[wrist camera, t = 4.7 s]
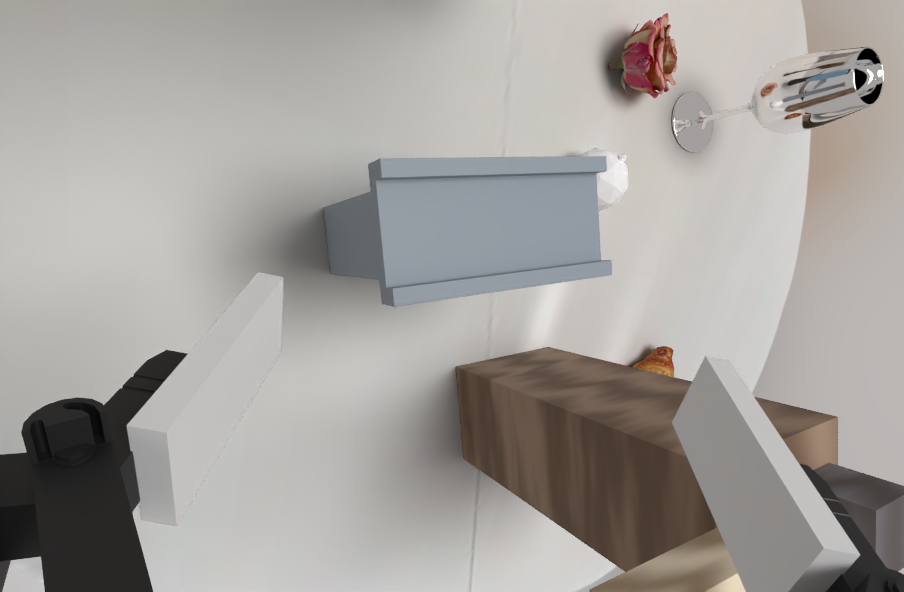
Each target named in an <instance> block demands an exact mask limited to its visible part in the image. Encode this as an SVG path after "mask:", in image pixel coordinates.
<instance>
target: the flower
mask: <svg viewBox="0 0 904 592" xmlns="http://www.w3.org/2000/svg"><path fill="white" fill-rule="evenodd" d="M668 21H669V19H668V13H667V14H664V15H663V17H662V18H661V17H660V18H658V19H657V20H656V21H655V23H654V24H653V22H652V21H651V20H650V21H648V22H647V23H645V25H644V26H643V27H642V28H641V29H640V31H637V32H635V30H636V28H637V26H638V24H637V26H636V28H635V29H634V31H633V32H632V33H631V35H630V36H629V37H628V39H627V41H626V43H625V45H624V50H623V53H622V56H621V57H622V60H621V61H617V62H612V63H610V64H609V70H611V69H617V68H623V69H624V72H623V74H622V77H621V85H622V87H623V88H624V90H625V83H626V84H627V85H628V86H630V87H631V88H632V89H636V90H640V91H643V92H646V93H648V94H650V95H652V96H653V98H655V97H657V96H658V94H662V91H663V90H664V91H665V92H666V91H668V90H669V88H668V85H667V81H669V82H670V83H671V85H675V84H676V83H675V81H674V79H673V77H672V76H671V73H672V72H675V71H676V69H677V64H676V61H677V56H676V54H677V51H676V48H675V43H674V39H670V36H668V35H669V31H670V27H671V26H670V25H667V23H668ZM634 32H635V34H634ZM633 34H634V35H633ZM624 81H625V83H624ZM621 85H620V86H621ZM655 90H658V91H659V93H658V92H656V91H655ZM625 91H626V90H625ZM633 91H634V90H633ZM626 93H627V91H626ZM627 94H628V93H627ZM628 96H629V94H628ZM629 100H630V98H629Z"/></svg>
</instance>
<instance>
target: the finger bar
mask: <svg viewBox="0 0 904 592" xmlns="http://www.w3.org/2000/svg"><path fill="white" fill-rule="evenodd" d="M814 471H815V472H816V473H817V474H818V475H819V476H820V477H821V478H822V479H823V480H825V481H826V482H827V484H828V485H829V487H830V488H831V490H832V491H833V492H834V494H835V495H836V497H837V498H838V499H839V500H838V502H839V503H841V504H842V505H843V507H844V508H845V509H846V511H847V512H848V514H849V515H848V516H849V517H850V518H852V519H853V521H854V522H855V524H856V525H857V526H858V528H859V529H860V531H861V532H862V533H863V535H864V536H865V538H866V539H867V541H868V542H869V543H870V545H871V546H872V548H873V549H874V550H875V552H876V553H877V555H878V556H879V558H880V559H881V560H882V562H883V563H884V565H885V566H886V567H887V568H888V569H892V570H896V571H899V570H901V569H902V568H903V567H904V486H902V485H898V484H895V483H892V482H889V481H886V480H883V479H879V478H876V477H873V476H870V475H866V474H864V473H860V472H857V471H854V470H851V469H847V468H844V467H841V466H838V465H835V464H832V463H827V464H825V465H823V466H821V467H819V468H817V469H814ZM590 592H746V591H745V589H744V586H743V584H742V582H741V579H740V577H739V575H738V573H737V570H736V568H735V566H734V563H733V561H732V559H731V557H730V554H729V552H728V550H727V547H726V545H725V543H724V541H723V538H722V536H721V534H720V531H719V529H718V527H717V528H715V529H713V530H711V531H709V532H707V533H705V534H703V535H701V536H699V537H697V538H695V539H693V540H691V541H688V542H686V543H684V544H682V545H680V546H678V547H676V548H674V549H672V550H670V551H668V552H666V553H664V554H662V555H660V556H658V557H656V558H654V559H652V560H649V561H647V562H645V563H643V564H641V565H639V566H637V567H635V568H633V569H631V570H629V571H627V572H625V573H623V574H621V575H619V576H617V577H615V578H613V579H610V580H608V581H606V582H604V583H602V584H600V585H598V586H596V587H594V588H592V589H590Z"/></svg>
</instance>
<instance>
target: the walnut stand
mask: <svg viewBox="0 0 904 592" xmlns="http://www.w3.org/2000/svg"><path fill="white" fill-rule="evenodd" d="M456 375H457V386H458V398H459V410H460V422H461V434H462V446H463V457H464V459H465V460H466V461H468V462H469V463H471V464H472V465H474V466H475V467H476V468H478V469H479V470H481V471H482V472H484V473H485V474H486V475H488V476H489V477H491V478H492V479H494V480H495V481H496V482H498V483H499V484H501V485H502V486H504V487H505V488H506V489H508V490H509V491H511V492H512V493H514V494H515V495H516V496H518V497H519V498H521V499H522V500H524V501H525V502H526V503H528V504H529V505H531V506H532V507H534V508H535V509H536V510H538V511H539V512H541V513H542V514H544V515H545V516H547V517H548V518H549V519H551V520H552V521H554V522H555V523H557V524H558V525H559V526H561V527H562V528H564V529H565V530H567V531H568V532H569V533H571V534H572V535H574V536H575V537H577V538H578V539H579V540H581V541H582V542H584V543H585V544H587V545H588V546H589V547H591V548H592V549H594V550H595V551H597V552H598V553H599V554H601V555H602V556H604V557H605V558H607V559H608V560H609V561H611V562H612V563H614V564H615V565H617V566H618V567H619V568H621V569H622V570H624V571H625V572H627V571H629V570H631V569H633V568H635V567H637V566H639V565H641V564H643V563H645V562H647V561H649V560H652V559H654V558H656V557H658V556H660V555H662V554H664V553H666V552H668V551H670V550H672V549H674V548H676V547H678V546H680V545H682V544H684V543H686V542H688V541H691V540H693V539H695V538H697V537H699V536H701V535H703V534H705V533H707V532H709V531H711V530H713V529H715V528H717V525H716V522H715V520H714V518H713V515H712V513H711V511H710V509H709V506H708V504H707V502H706V499H705V497H704V495H703V493H702V490H701V488H700V486H699V483H698V481H697V479H696V477H695V474H694V472H693V470H692V467H691V465H690V463H689V461H688V458H687V456H686V454H685V451H684V449H683V447H682V445H681V442H680V440H679V438H678V435H677V433H676V431H675V429H674V426H673V424H672V421H673V419H674V417H675V415H676V413H677V411H678V409H679V407H680V405H681V403H682V401H683V399H684V397H685V395H686V393H687V392H688V390H689V388H690V386H691V384H692V382H691V381H687V380H683V379H678V378H674V377H670V376H666V375H662V374H658V373H654V372H649V371H645V370H641V369H637V368H633V367H629V366H625V365H620V364H616V363H612V362H608V361H604V360H600V359H596V358H591V357H587V356H583V355H579V354H575V353H571V352H567V351H562V350H558V349H554V348H550V347H547V348H542V349H537V350H533V351H528V352H523V353H518V354H514V355H509V356H504V357H499V358H495V359H490V360H485V361H480V362H476V363H471V364H466V365H462V366H457V367H456ZM754 398H755V399H756V401H757V402H758V404H759V405H760V407H761V408H762V410H763V411H764V413H765V414H766V415H767V417H768V418H769V420H770V421H771V423H772V424H773V426H774V427H775V429H776V430H777V432H778V433H779V435H780V436H781V438H782V439H783V441H784V442H785V444H786V445H787V447H788V448H789V450H790V451H791V453H792V454H793V456H794V457H795V458H796V460H797V461H798V463H799V464H804V465H808V466H809V467H810V468H811V469H812V470H814V469H817V468H819V467H821V466H823V465H825V464H827V463H832V464H835V465H838V417H836V416H832V415H827V414H823V413H819V412H815V411H811V410H807V409H803V408H799V407H794V406H790V405H786V404H782V403H778V402H774V401H769V400H765V399H761V398H757V397H754Z"/></svg>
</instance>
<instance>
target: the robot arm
mask: <svg viewBox="0 0 904 592" xmlns="http://www.w3.org/2000/svg"><path fill="white" fill-rule="evenodd" d="M282 311H283V277H281V276H276V275H271V274H265V273H260V272H258V273H257V274H256V275H255V276H254V278H253V279H252V280H251V281H250V282H249V283H248V285H247V286H246V287H245V288H244V289H243V290H242V292H241V293H240V294H239V295H238V296H237V297H236V299H235V300H234V301H233V302H232V303H231V304H230V306H229V307H228V308H227V309H226V310H225V311H224V313H223V314H222V315H221V316H220V317H219V318H218V320H217V321H216V322H215V323H214V324H213V325H212V327H211V328H210V329H209V330H208V331H207V332H206V333H205V335H204V336H203V337H202V338H201V339H200V340H199V342H198V343H197V344H196V345H195V346H194V347H193V349H192V350H191V351H190V352H189V353H188V354H186V353H180V352H175V351H169V350H166V351H164V352H162V353H160V354H158V355H156V356H155V357H153V358H151V359H149V360H147V361H146V362H145V363H144V364H143V365H142V366H141V367H140V368H139V369H138V370H137V371H136V373H135V374H134V376H133V377H131V378H130V379H129V380H128V381H127V382H126V383H125V384H124V385H123V388H122V389H119V390H118V391H117V392H116V393H115V394H114V395H113V397H112V398H111V399H110V400H109V401H108V402H107V403H106V404H105V405H103V404H102V403H100V402H97V401H95V400H93V399H86V398H72V399H64V400H60V401H57V402H54V403H51V404H48V405H46V406H44V407H42V408H41V409H39V410H37V411H36V412H34V413H32V415H31V416H30V417H29V418H28V419H27V420H26V421H25V422H24V424H23V428H22V432H21V433H22V437H23V440H24V443H25V447H26V450H27V453H18V454H5V455H0V592H2V590H3V586H4V582H5V579H6V575H7V572H8V568H9V565H10V561H11V560H16V559H24V558H32V557H40V556H41V560H42V569H43V577H44V586H45V592H153V589H152V586H151V582H150V578H149V574H148V571H147V567H146V563H145V559H144V556H143V552H142V548H141V545H140V541H139V537H138V533H137V530H136V526H135V522H134V519H133V515H132V512H133V510H134V509H135V507H136V506H137V504H138V503H139V508H140V514H141V520H144V521H150V522H156V523H162V524H168V525H173V526H177V525H178V523H179V522H180V520H181V518H182V517H183V515H184V513H185V512H186V510H187V508H188V507H189V505H190V503H191V502H192V500H193V498H194V497H195V495H196V493H197V492H198V490H199V488H200V487H201V485H202V483H203V481H204V480H205V478H206V476H207V475H208V473H209V471H210V470H211V468H212V466H213V465H214V463H215V461H216V460H217V458H218V456H219V455H220V453H221V451H222V450H223V448H224V446H225V445H226V443H227V441H228V440H229V438H230V436H231V435H232V433H233V431H234V430H235V428H236V426H237V424H238V423H239V421H240V419H241V418H242V416H243V414H244V413H245V411H246V409H247V408H248V406H249V404H250V403H251V401H252V399H253V398H254V396H255V394H256V393H257V391H258V389H259V388H260V386H261V384H262V383H263V381H264V379H265V378H266V376H267V374H268V373H269V371H270V369H271V367H272V366H273V364H274V362H275V361H276V359H277V357H278V356H279V354H280V352H281V345H282ZM672 424H673V426H674V429H675V431H676V433H677V435H678V438H679V440H680V442H681V445H682V447H683V449H684V451H685V454H686V456H687V458H688V461H689V463H690V465H691V467H692V470H693V472H694V474H695V477H696V479H697V481H698V483H699V486H700V488H701V490H702V493H703V495H704V497H705V499H706V502H707V504H708V506H709V509H710V511H711V513H712V515H713V518H714V520H715V522H716V525H717V527H718V529H719V531H720V534H721V536H722V538H723V541H724V543H725V545H726V547H727V550H728V552H729V554H730V557H731V559H732V561H733V563H734V566H735V568H736V570H737V573H738V575H739V577H740V579H741V582H742V584H743V586H744V589H745V591H746V592H904V575H903V574H901V573H899V572H898V571H896V570H892V569H888V568H887V567H886V566H885V565H884V563H883V562H882V560H881V559H880V558H879V556H878V555H877V553H876V552H875V550H874V549H873V548H872V546H871V545H870V543H869V542H868V541H867V539H866V538H865V536H864V535H863V533H862V532H861V531H860V529H859V528H858V526H857V525H856V524H855V522H854V521H853V519H852V518H850V517H849V516H848V515H849V514H848V512H847V511H846V509H845V508H844V507H843V505H842V504H841V503H839V502H838V500H839V499H838V498H837V497H836V495H835V494H834V492H833V491H832V490H831V488H830V487H829V485H828V484H827V482H826V481H825V480H823V479H822V478H821V477H820V476H819V475H818V474H817V473H816V472H815V471H814V470H812V469H811V468H810V467H809V466H808V465H804V464H799V463H798V461H797V460H796V458H795V457H794V456H793V454H792V453H791V451H790V450H789V448H788V447H787V445H786V444H785V442H784V441H783V439H782V438H781V436H780V435H779V433H778V432H777V430H776V429H775V427H774V426H773V424H772V423H771V421H770V420H769V418H768V417H767V415H766V414H765V413H764V411H763V410H762V408H761V407H760V405H759V404H758V402H757V401H756V399H755V398H754V396H753V395H752V393H751V392H750V390H749V389H748V387H747V386H746V384H745V383H744V381H743V380H742V378H741V377H740V375H739V374H738V373H737V371H736V370H735V368H734V367H733V365H732V364H731V362H730V361H729V360H724V359H718V358H713V357H708V356H705V358H704V360H703V362H702V364H701V366H700V368H699V370H698V372H697V374H696V376H695V378H694V380H693V382H692V384H691V386H690V388H689V390H688V392H687V393H686V395H685V397H684V399H683V401H682V403H681V405H680V407H679V409H678V411H677V413H676V415H675V417H674V419H673V421H672Z"/></svg>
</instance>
